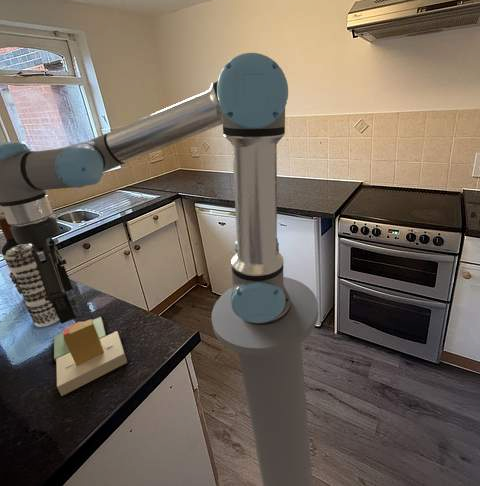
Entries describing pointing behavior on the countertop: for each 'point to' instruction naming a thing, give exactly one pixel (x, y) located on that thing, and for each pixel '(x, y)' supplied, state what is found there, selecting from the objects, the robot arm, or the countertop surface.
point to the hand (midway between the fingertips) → (67, 304)
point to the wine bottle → (7, 236)
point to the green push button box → (62, 347)
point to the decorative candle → (30, 284)
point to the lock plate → (89, 365)
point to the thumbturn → (83, 341)
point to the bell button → (75, 324)
